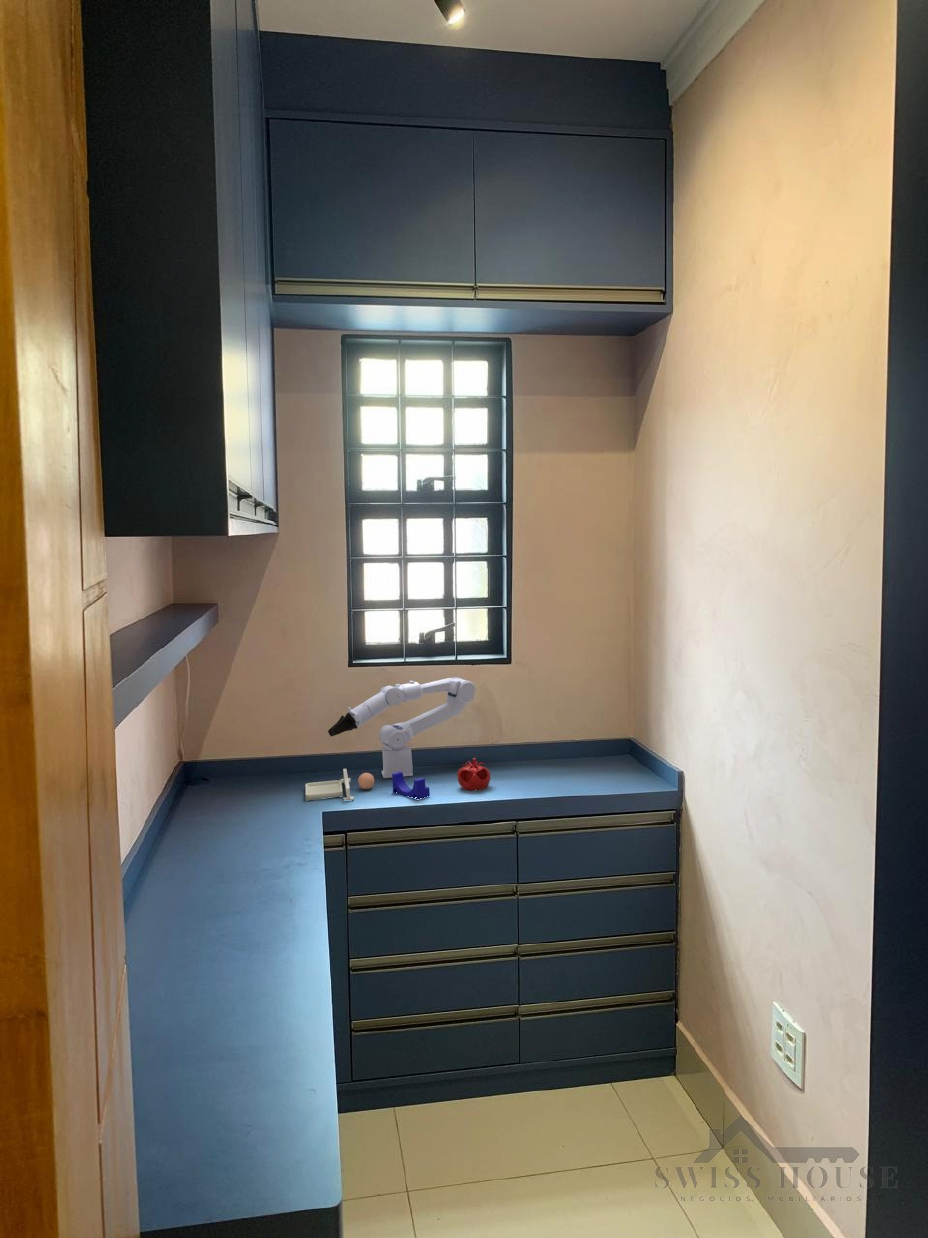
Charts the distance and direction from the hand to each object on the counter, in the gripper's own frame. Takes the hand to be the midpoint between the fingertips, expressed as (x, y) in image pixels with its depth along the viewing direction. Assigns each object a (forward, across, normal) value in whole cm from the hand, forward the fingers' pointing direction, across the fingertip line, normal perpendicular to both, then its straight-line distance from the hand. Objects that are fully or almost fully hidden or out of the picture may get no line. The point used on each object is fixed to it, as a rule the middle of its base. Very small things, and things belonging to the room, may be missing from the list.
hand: (331, 733), depth 274 cm
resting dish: (+12, +2, +14) cm, 19 cm away
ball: (-1, +5, +18) cm, 19 cm away
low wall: (+6, +3, +18) cm, 19 cm away
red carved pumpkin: (-25, +18, +37) cm, 48 cm away
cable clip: (-8, +16, +28) cm, 33 cm away
